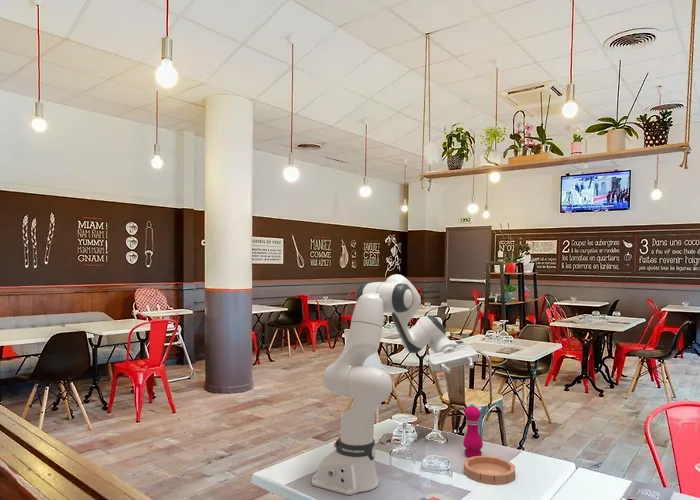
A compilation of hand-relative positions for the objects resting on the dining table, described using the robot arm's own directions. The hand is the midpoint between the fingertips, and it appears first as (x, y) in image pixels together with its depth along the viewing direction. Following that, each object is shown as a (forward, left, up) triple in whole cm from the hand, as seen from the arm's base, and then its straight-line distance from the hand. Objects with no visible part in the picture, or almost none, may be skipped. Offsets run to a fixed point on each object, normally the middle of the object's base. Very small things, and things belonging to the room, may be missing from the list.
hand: (461, 369), depth 192 cm
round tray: (+11, -18, -32) cm, 38 cm away
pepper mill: (+4, -3, -32) cm, 32 cm away
